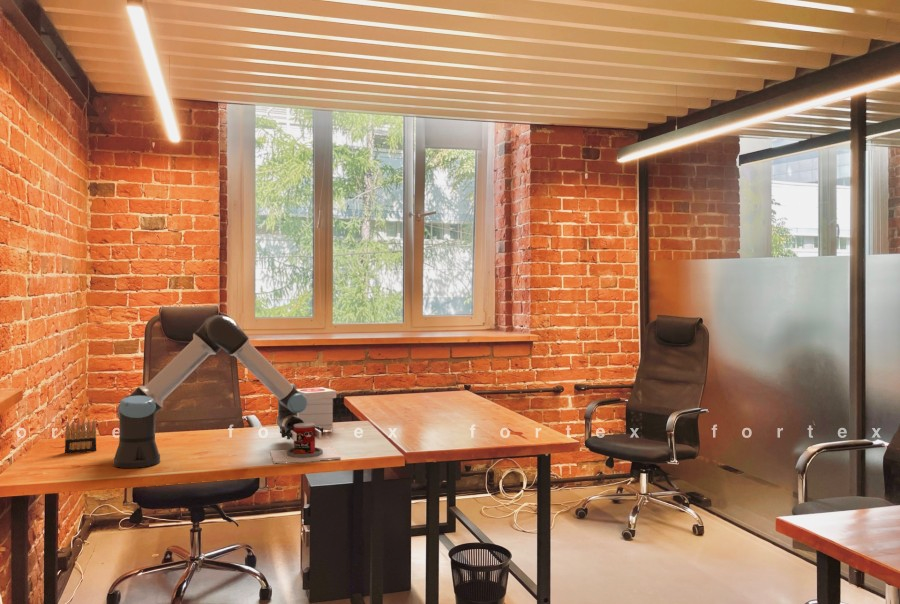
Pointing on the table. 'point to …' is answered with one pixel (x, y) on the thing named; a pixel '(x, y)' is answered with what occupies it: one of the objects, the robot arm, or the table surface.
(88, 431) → the ammunition clip
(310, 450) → the canned food
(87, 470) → the table surface
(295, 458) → the carrier plate
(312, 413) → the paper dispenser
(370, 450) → the table surface
